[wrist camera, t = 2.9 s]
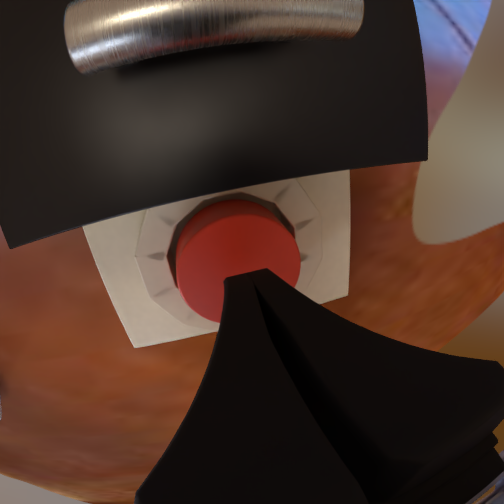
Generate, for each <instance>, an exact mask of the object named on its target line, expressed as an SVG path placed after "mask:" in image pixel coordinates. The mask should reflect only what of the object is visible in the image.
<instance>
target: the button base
mask: <svg viewBox="0 0 504 504" xmlns="http://www.w3.org/2000/svg"><path fill="white" fill-rule="evenodd" d="M230 199H241V200H248V201H252V202H255V203H258V204H260V205H262V206H264V207H265V208H267V209H268V210H270V211H271V212H272V213H273V214H274V215H275V216H276V217H277V218H278V219H279V221H280V222H281V223H282V224H283V225H284V226H285V227H286V229H287V230H288V231H289V232H290V233H291V235H292V236H293V238H294V239H295V241H296V243H297V245H298V248H299V252H300V258H301V268H300V275H299V278H298V281H297V284H296V286H295V289H297V290H298V291H299V292H301V293H302V294H304V295H305V296H307V297H308V298H310V299H312V300H313V301H315V302H316V303H318V304H321V303H325V302H328V301H332V300H335V299H338V298H341V297H345V296H348V287H349V264H350V171H349V170H344V171H337V172H330V173H324V174H317V175H311V176H305V177H299V178H293V179H287V180H281V181H276V182H270V183H265V184H259V185H254V186H249V187H244V188H239V189H234V190H229V191H224V192H219V193H214V194H210V195H205V196H200V197H196V198H191V199H187V200H183V201H178V202H174V203H170V204H166V205H161V206H157V207H153V208H149V209H145V210H141V211H137V212H133V213H130V214H126V215H122V216H118V217H114V218H111V219H107V220H104V221H100V222H96V223H93V224H89V225H86V226H82V227H83V230H84V233H85V236H86V238H87V241H88V244H89V247H90V249H91V252H92V255H93V257H94V260H95V262H96V265H97V267H98V270H99V272H100V275H101V277H102V280H103V282H104V284H105V287H106V289H107V291H108V294H109V296H110V298H111V300H112V303H113V305H114V307H115V309H116V311H117V314H118V316H119V318H120V320H121V322H122V324H123V326H124V328H125V330H126V332H127V334H128V336H129V338H130V340H131V342H132V344H133V346H134V348H138V347H144V346H149V345H154V344H159V343H164V342H169V341H174V340H179V339H184V338H188V337H193V336H197V335H202V334H206V333H211V332H215V331H217V332H218V330H219V325H220V323H217V322H213V321H210V320H207V319H205V318H203V317H202V316H200V315H198V314H197V313H196V312H194V311H193V310H192V309H191V308H190V307H189V306H188V305H187V303H186V302H185V301H184V299H183V298H182V296H181V294H180V291H179V289H178V285H177V277H176V246H177V242H178V239H179V236H180V234H181V232H182V230H183V228H184V226H185V225H186V224H187V222H188V221H189V220H190V219H191V218H192V217H193V216H194V215H195V214H196V213H198V212H199V211H200V210H202V209H203V208H205V207H207V206H209V205H211V204H213V203H216V202H220V201H223V200H230Z"/></svg>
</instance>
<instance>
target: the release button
mask: <svg viewBox="0 0 504 504" xmlns="http://www.w3.org/2000/svg"><path fill="white" fill-rule="evenodd" d="M264 268H268V269H269V270H271V271H272V272H274V273H275V274H276V275H277V276H279V277H280V278H281V279H283V280H284V281H285V282H287V283H288V284H290V285H291V286H292V287H294V288H295V286H296V284H297V281H298V278H299V275H300V268H301V258H300V252H299V248H298V245H297V243H296V241H295V239H294V238H293V236H292V235H291V233H290V232H289V231H288V230H287V229H286V227H285V226H284V225H283V224H282V223H281V222H280V221H279V219H278V218H277V217H276V216H275V215H274V214H273V213H272V212H271V211H270V210H268V209H267V208H265V207H264V206H262V205H260V204H258V203H255V202H252V201H248V200H241V199H230V200H223V201H220V202H216V203H213V204H211V205H209V206H207V207H205V208H203V209H202V210H200V211H199V212H198V213H196V214H195V215H194V216H193V217H192V218H191V219H190V220H189V221H188V222H187V224H186V225H185V226H184V228H183V230H182V232H181V234H180V236H179V239H178V242H177V246H176V277H177V285H178V289H179V291H180V294H181V296H182V298H183V299H184V301H185V302H186V303H187V305H188V306H189V307H190V308H191V309H192V310H193V311H194V312H196V313H197V314H198V315H200V316H202V317H203V318H205V319H207V320H210V321H213V322H217V323H220V320H221V314H222V309H223V301H224V284H223V281H224V280H225V278H226V277H230V276H234V275H239V274H243V273H247V272H251V271H255V270H260V269H264Z"/></svg>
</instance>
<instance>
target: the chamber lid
mask: <svg viewBox="0 0 504 504" xmlns="http://www.w3.org/2000/svg"><path fill="white" fill-rule="evenodd" d="M427 160H428V114H427V95H426V82H425V71H424V62H423V54H422V46H421V40H420V33H419V27H418V22H417V16H416V11H415V7H414V2H413V0H0V225H1V228H2V231H3V233H4V236H5V238H6V241H7V243H8V246H9V248H10V249H13V248H16V247H19V246H22V245H25V244H28V243H31V242H34V241H37V240H40V239H43V238H46V237H49V236H53V235H56V234H59V233H62V232H66V231H69V230H72V229H76V228H79V227H82V226H86V225H89V224H93V223H96V222H100V221H104V220H107V219H111V218H114V217H118V216H122V215H126V214H130V213H133V212H137V211H141V210H145V209H149V208H153V207H157V206H161V205H166V204H170V203H174V202H178V201H183V200H187V199H191V198H196V197H200V196H205V195H210V194H214V193H219V192H224V191H229V190H234V189H239V188H244V187H249V186H254V185H259V184H265V183H270V182H276V181H281V180H287V179H293V178H299V177H305V176H311V175H317V174H324V173H330V172H337V171H344V170H351V169H359V168H366V167H374V166H382V165H391V164H400V163H409V162H419V161H427Z"/></svg>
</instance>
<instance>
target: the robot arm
mask: <svg viewBox="0 0 504 504" xmlns="http://www.w3.org/2000/svg"><path fill="white" fill-rule="evenodd" d="M223 284H224V301H223V309H222V314H221V320H220V325H219V330H218V333H217V337H216V341H215V345H214V348H213V352H212V355H211V358H210V361H209V364H208V367H207V369H206V372H205V374H204V377H203V380H202V382H201V384H200V387H199V389H198V391H197V393H196V396H195V398H194V400H193V402H192V404H191V406H190V408H189V410H188V412H187V414H186V416H185V418H184V420H183V421H182V423H181V425H180V427H179V428H178V430H177V432H176V434H175V435H174V437H173V439H172V441H171V442H170V444H169V446H168V447H167V449H166V451H165V452H164V454H163V455H162V457H161V458H160V460H159V461H158V462H157V464H156V465H155V467H154V468H153V469H152V471H151V472H150V474H149V475H148V476H147V478H146V479H145V481H144V482H143V483H142V485H141V486H140V487H139V489H138V490H137V492H136V495H135V501H134V504H472V503H473V502H474V501H476V500H477V499H478V498H479V497H480V496H482V495H483V494H484V493H485V492H487V491H488V490H489V489H490V488H491V487H492V486H493V485H495V484H496V488H495V490H494V491H493V492H492V493H490V494H489V495H487V496H486V497H485V498H483V499H482V500H480V501H479V502H477V503H476V504H504V450H503V451H502V452H501V453H500V454H498V453H497V451H496V450H495V448H494V446H495V445H496V444H497V443H498V439H497V438H496V437H495V435H494V434H493V433H492V431H493V430H494V429H495V428H496V427H497V426H498V424H500V422H501V421H502V420H503V419H504V368H503V367H502V366H501V365H500V364H499V363H498V362H497V361H490V360H482V359H474V358H467V357H459V356H453V355H448V354H444V353H439V352H435V351H431V350H427V349H423V348H419V347H416V346H412V345H409V344H406V343H403V342H400V341H397V340H394V339H391V338H388V337H385V336H383V335H380V334H377V333H375V332H372V331H370V330H368V329H366V328H363V327H361V326H359V325H357V324H355V323H352V322H350V321H348V320H346V319H344V318H342V317H340V316H338V315H337V314H335V313H333V312H331V311H329V310H328V309H326V308H324V307H323V306H321V305H319V304H318V303H316V302H315V301H313V300H312V299H310V298H308V297H307V296H305V295H304V294H302V293H301V292H299V291H298V290H297V289H295V288H294V287H292V286H291V285H290V284H288V283H287V282H285V281H284V280H283V279H281V278H280V277H279V276H277V275H276V274H275V273H274V272H272V271H271V270H269V269H268V268H264V269H260V270H255V271H251V272H247V273H243V274H239V275H234V276H230V277H226V278H225V280H224V281H223Z"/></svg>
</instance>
